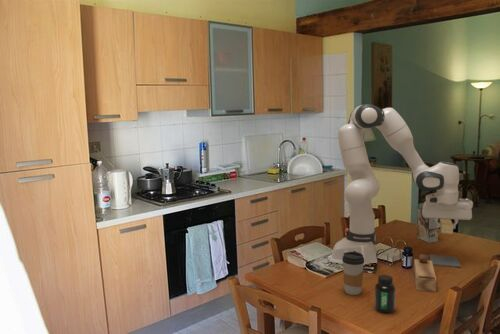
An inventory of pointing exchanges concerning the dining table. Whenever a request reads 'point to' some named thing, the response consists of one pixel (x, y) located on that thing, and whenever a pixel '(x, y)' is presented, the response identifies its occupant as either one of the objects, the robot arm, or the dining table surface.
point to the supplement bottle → (385, 294)
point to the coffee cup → (353, 272)
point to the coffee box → (427, 228)
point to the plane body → (424, 274)
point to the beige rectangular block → (446, 226)
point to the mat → (444, 260)
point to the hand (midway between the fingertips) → (446, 228)
